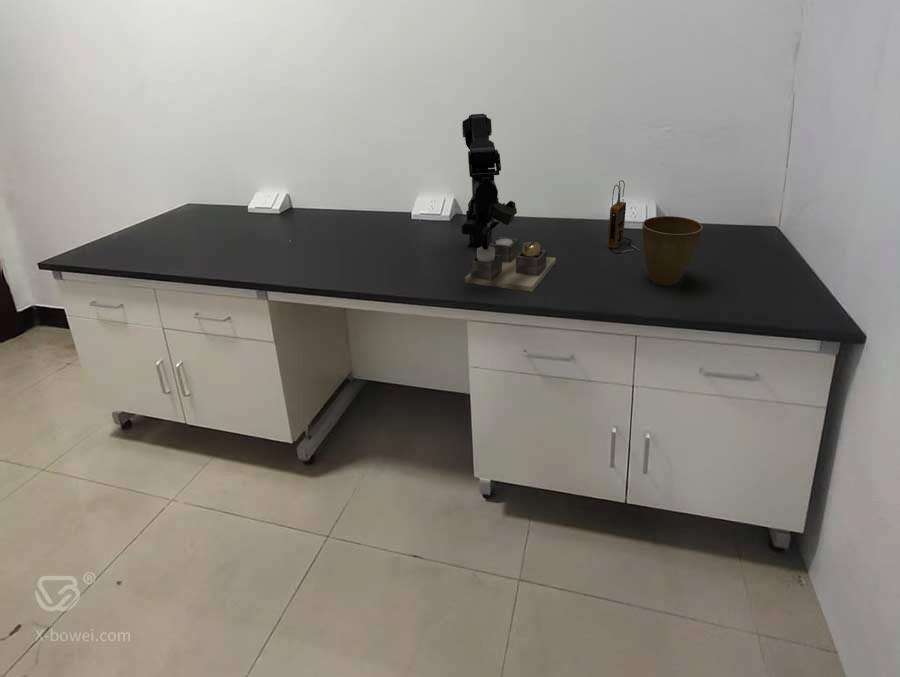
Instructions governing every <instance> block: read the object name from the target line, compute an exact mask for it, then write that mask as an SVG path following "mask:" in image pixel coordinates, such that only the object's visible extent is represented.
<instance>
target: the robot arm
mask: <svg viewBox="0 0 900 677" xmlns="http://www.w3.org/2000/svg"><path fill="white" fill-rule="evenodd" d="M461 126H462V127H461V130H462V138H464V142H465V146H466V147H467V148H468V150H469V151H467V160H468V161H467V162H468V171H469V173H468V174H469V178H471V191H472V194H471V196H472V197H471V198H470V199H469V201H468V203H467V210H466V211H465V221H466V222H464V223H463V224H462V225H461V227H460V229H461V230H460V231H461V234H462V235H469V243H468V244H467V247H468V248H475V249H477V248H479V247H483V249H485V250H487V249H488V247H489V244H490V243H491V242H493V241H494V240H493V232H494V229H495V228H497V226H498V225H500V223H501V224H503V225H505V226H508V225H510V224H511V223H512V222H513V221H514V218H515V216H516V214H517V212H518V210H517V208H516V202H515V201H513V200H509V201H508V202H507V203H505V202H502V203H501V202H499V197H498V196H499V190H498V188H497V184H496V182H495V176H500V172H501V171H502V163H501V156H500V155H501V154H500V153H499V150H498V149H496V146H495V143H494V141H492V140H490V136H492V132H493V130H492V127H493V126H492V119H491V118H489V117H487V114H486V113H474V114H473V113H472V114H470V115H468V117H467V118H466V119H464V120H462V124H461Z"/></svg>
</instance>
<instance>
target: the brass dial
mask: <svg viewBox="0 0 900 677" xmlns="http://www.w3.org/2000/svg"><path fill="white" fill-rule="evenodd" d="M540 250H541V243H540V242H537V241H526V242H523V243H522V250H521V251H522V257H531V258H538V257H539V256H540Z"/></svg>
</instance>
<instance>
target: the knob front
mask: <svg viewBox="0 0 900 677" xmlns="http://www.w3.org/2000/svg"><path fill="white" fill-rule="evenodd" d="M476 256H477V261H480V262H488V263H492V262H493V261H494V260H495V248H494V247H491V246H489V247H488V249H487V250H485V249H483V247H479V248H476Z"/></svg>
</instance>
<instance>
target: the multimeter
mask: <svg viewBox="0 0 900 677" xmlns="http://www.w3.org/2000/svg"><path fill="white" fill-rule="evenodd" d="M622 182H623V190H622V188H621V180H619V181H618V184H616V185H614V187H613V190H612V199H611V200H612V203H611V207H610V208H609V209H610V210H609V220H608V221H609V224H608V236H607V248H610V251H611V253H613V254H616V255H617V254H624V253H627V252H630V251H634V250H638V251H640V249H638V247H636V246H635V245H632V244H630V243H632V239H630V238H628V237H624V232H625V223H626V222H625V221H626V220H625V219H626V211H627V210H626V208H627V202H625V200H622V201H621V190H622V196H624V193H625V187H626V186H625V181H624V180H622ZM616 187H617V188H618V190H619V191H618V193H617V194H618V195H617V200H616V202H615V203H614V194H615V189H616ZM624 239H626V240H629V242H627V245H629V246H630V247H632V249H627V250H623V251H621V252H615V251H613V249H617V248H618V247H619V246H620V245H621V244H622V243H623V242H624Z"/></svg>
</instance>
